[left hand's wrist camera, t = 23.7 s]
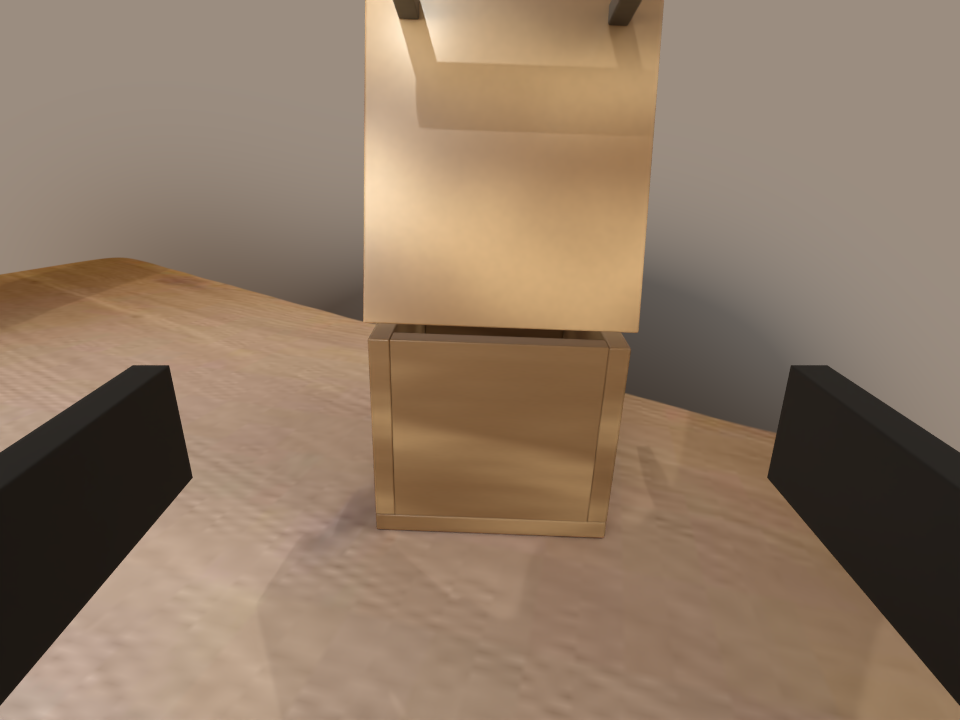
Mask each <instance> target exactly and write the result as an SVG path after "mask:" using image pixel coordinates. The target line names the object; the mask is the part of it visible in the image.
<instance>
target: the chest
mask: <svg viewBox="0 0 960 720" xmlns="http://www.w3.org/2000/svg"><path fill="white" fill-rule="evenodd" d="M368 353H369V374H370V396H371V417H372V439H373V460H374V482H375V503H376V524H377V529H391V530H416V531H442V532H467V533H493V534H518V535H544V536H569V537H595V538H603V537H604V534H605V527H606V520H607V513H608V506H609V499H610V492H611V485H612V478H613V471H614V464H615V457H616V450H617V443H618V437H619V430H620V423H621V416H622V409H623V402H624V395H625V388H626V381H627V374H628V367H629V360H630V353H631V348H630V347H629V345H628V343H627V342H626V340H625V338H624V337H623V335H622V333H621V332H600V331H573V330H546V329H519V328H492V327H464V326H437V325H410V324H383V323H377V324H376V326H375V328H374V330H373V331H372V333H371V335H370V337H369V339H368Z"/></svg>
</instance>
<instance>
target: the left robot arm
mask: <svg viewBox="0 0 960 720" xmlns="http://www.w3.org/2000/svg"><path fill="white" fill-rule="evenodd" d="M192 478H193V477H192V472H191V467H190V463H189V458H188V453H187V448H186V444H185V439H184V434H183V429H182V425H181V420H180V415H179V410H178V406H177V401H176V396H175V391H174V387H173V382H172V377H171V372H170V368H169V365H133V366H131V367H130V368H128V369H127V370H125V371H124V372H122V373H120V374H119V375H117V376H116V377H114V378H113V379H111V380H110V381H108V382H107V383H105V384H104V385H102V386H101V387H99V388H98V389H96V390H95V391H93V392H92V393H90V394H89V395H87V396H86V397H84V398H82V399H81V400H79V401H78V402H76V403H75V404H73V405H72V406H70V407H69V408H67V409H66V410H64V411H63V412H61V413H60V414H58V415H57V416H55V417H54V418H52V419H51V420H49V421H47V422H46V423H44V424H43V425H41V426H40V427H38V428H37V429H35V430H34V431H32V432H31V433H29V434H28V435H26V436H25V437H23V438H22V439H20V440H19V441H17V442H16V443H14V444H13V445H11V446H9V447H8V448H6V449H5V450H3V451H2V452H0V705H1V704H2V703H3V702H4V701H5V699H6V698H7V697H8V696H9V695H10V693H11V692H12V691H13V690H14V689H15V687H16V686H17V685H18V684H19V683H20V682H21V680H22V679H23V678H24V677H25V676H26V674H27V673H28V672H29V671H30V670H31V669H32V667H33V666H34V665H35V664H36V663H37V661H38V660H39V659H40V658H41V657H42V655H43V654H44V653H45V652H46V651H47V650H48V648H49V647H50V646H51V645H52V644H53V642H54V641H55V640H56V639H57V638H58V637H59V635H60V634H61V633H62V632H63V631H64V629H65V628H66V627H67V626H68V625H69V624H70V622H71V621H72V620H73V619H74V618H75V616H76V615H77V614H78V613H79V612H80V610H81V609H82V608H83V607H84V606H85V605H86V603H87V602H88V601H89V600H90V599H91V597H92V596H93V595H94V594H95V593H96V592H97V590H98V589H99V588H100V587H101V586H102V584H103V583H104V582H105V581H106V580H107V578H108V577H109V576H110V575H111V574H112V573H113V571H114V570H115V569H116V568H117V567H118V565H119V564H120V563H121V562H122V561H123V560H124V558H125V557H126V556H127V555H128V554H129V552H130V551H131V550H132V549H133V548H134V546H135V545H136V544H137V543H138V542H139V541H140V539H141V538H142V537H143V536H144V535H145V533H146V532H147V531H148V530H149V529H150V528H151V526H152V525H153V524H154V523H155V522H156V520H157V519H158V518H159V517H160V516H161V514H162V513H163V512H164V511H165V510H166V509H167V507H168V506H169V505H170V504H171V503H172V501H173V500H174V499H175V498H176V497H177V496H178V494H179V493H180V492H181V491H182V490H183V488H184V487H185V486H186V485H187V484H188V482H189V481H190V480H191V479H192ZM767 478H768V479H769V480H770V481H771V483H772V484H773V485H774V486H775V487H776V488H777V490H778V491H779V492H780V493H781V494H782V496H783V497H784V498H785V499H786V500H787V501H788V503H789V504H790V505H791V506H792V507H793V509H794V510H795V511H796V512H797V513H798V514H799V516H800V517H801V518H802V519H803V520H804V522H805V523H806V524H807V525H808V526H809V528H810V529H811V530H812V531H813V532H814V533H815V535H816V536H817V537H818V538H819V539H820V541H821V542H822V543H823V544H824V545H825V546H826V548H827V549H828V550H829V551H830V552H831V554H832V555H833V556H834V557H835V558H836V560H837V561H838V562H839V563H840V564H841V565H842V567H843V568H844V569H845V570H846V571H847V573H848V574H849V575H850V576H851V577H852V578H853V580H854V581H855V582H856V583H857V584H858V586H859V587H860V588H861V589H862V590H863V592H864V593H865V594H866V595H867V596H868V597H869V599H870V600H871V601H872V602H873V603H874V605H875V606H876V607H877V608H878V609H879V610H880V612H881V613H882V614H883V615H884V616H885V618H886V619H887V620H888V621H889V622H890V624H891V625H892V626H893V627H894V628H895V629H896V631H897V632H898V633H899V634H900V635H901V637H902V638H903V639H904V640H905V641H906V642H907V644H908V645H909V646H910V647H911V648H912V650H913V651H914V652H915V653H916V654H917V655H918V657H919V658H920V659H921V660H922V661H923V663H924V664H925V665H926V666H927V667H928V669H929V670H930V671H931V672H932V673H933V674H934V676H935V677H936V678H937V679H938V680H939V682H940V683H941V684H942V685H943V686H944V687H945V689H946V690H947V691H948V692H949V693H950V695H951V696H952V697H953V698H954V699H955V701H956V702H957V703H958V704H959V705H960V452H958V451H957V450H955V449H954V448H952V447H950V446H949V445H947V444H946V443H944V442H943V441H941V440H940V439H938V438H937V437H935V436H934V435H932V434H931V433H929V432H928V431H926V430H925V429H923V428H922V427H920V426H919V425H917V424H916V423H914V422H912V421H911V420H909V419H908V418H906V417H905V416H903V415H902V414H900V413H899V412H897V411H896V410H894V409H893V408H891V407H890V406H888V405H887V404H885V403H884V402H882V401H881V400H879V399H878V398H876V397H874V396H873V395H871V394H870V393H868V392H867V391H865V390H864V389H862V388H861V387H859V386H858V385H856V384H855V383H853V382H852V381H850V380H849V379H847V378H846V377H844V376H843V375H841V374H839V373H838V372H836V371H835V370H833V369H832V368H830V367H829V366H827V365H791V368H790V372H789V378H788V382H787V387H786V392H785V396H784V401H783V406H782V411H781V415H780V420H779V425H778V430H777V434H776V439H775V444H774V448H773V453H772V458H771V463H770V467H769V472H768V477H767Z"/></svg>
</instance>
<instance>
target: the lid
mask: <svg viewBox="0 0 960 720" xmlns="http://www.w3.org/2000/svg"><path fill="white" fill-rule="evenodd" d="M663 6H664V0H365V118H364V289H363V322H364V323H383V324H410V325H437V326H464V327H492V328H519V329H546V330H573V331H600V332H627V333H637V332H638V331H639V318H640V305H641V292H642V279H643V266H644V253H645V240H646V227H647V214H648V201H649V187H650V175H651V162H652V149H653V136H654V123H655V110H656V97H657V84H658V71H659V58H660V45H661V32H662V19H663Z"/></svg>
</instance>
